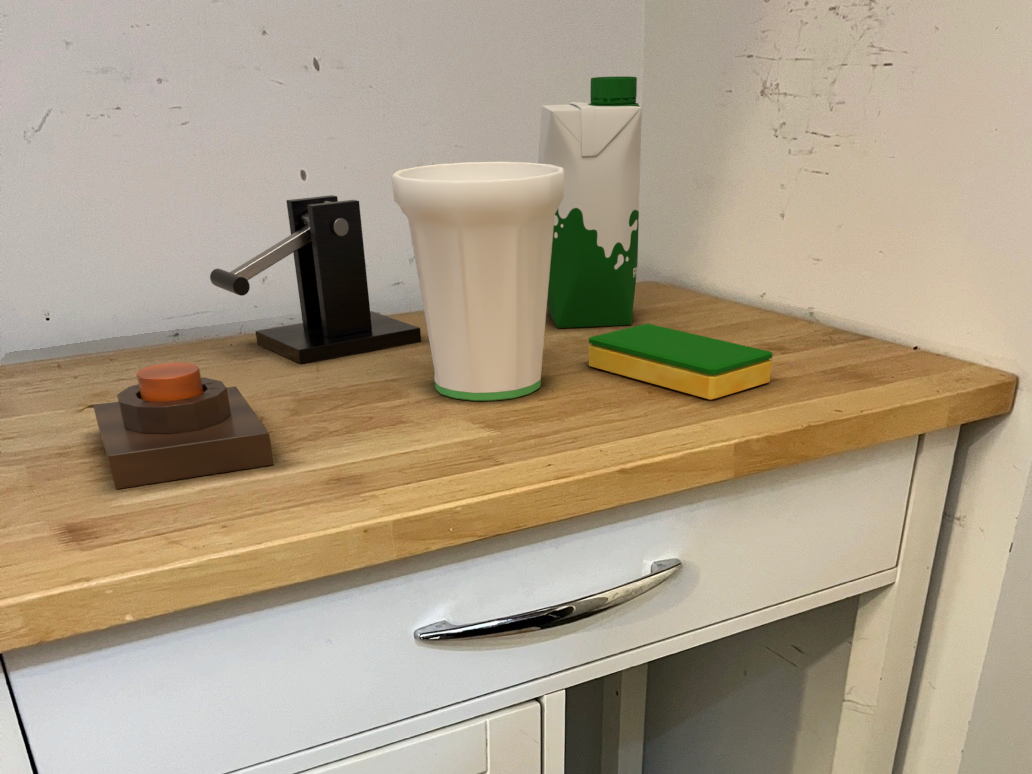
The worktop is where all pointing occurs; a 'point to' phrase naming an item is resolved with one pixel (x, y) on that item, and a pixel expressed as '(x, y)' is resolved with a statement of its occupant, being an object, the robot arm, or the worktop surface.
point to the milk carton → (595, 204)
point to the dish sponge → (680, 360)
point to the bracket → (333, 290)
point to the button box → (181, 435)
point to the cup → (483, 270)
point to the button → (169, 382)
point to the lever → (261, 261)
